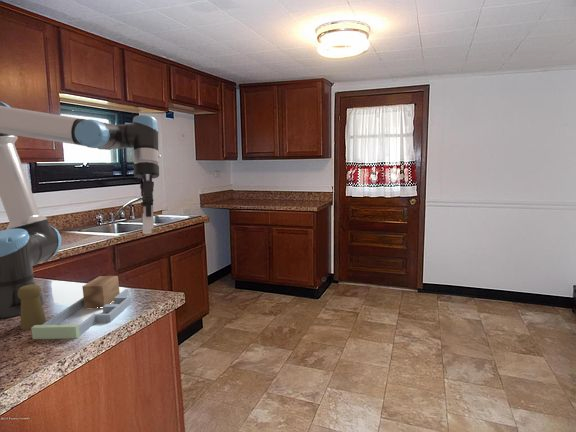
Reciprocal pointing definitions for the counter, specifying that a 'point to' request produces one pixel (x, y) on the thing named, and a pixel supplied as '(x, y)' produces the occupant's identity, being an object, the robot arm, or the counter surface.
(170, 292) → the counter surface
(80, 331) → the trap lane
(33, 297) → the cork
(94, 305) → the walnut block
